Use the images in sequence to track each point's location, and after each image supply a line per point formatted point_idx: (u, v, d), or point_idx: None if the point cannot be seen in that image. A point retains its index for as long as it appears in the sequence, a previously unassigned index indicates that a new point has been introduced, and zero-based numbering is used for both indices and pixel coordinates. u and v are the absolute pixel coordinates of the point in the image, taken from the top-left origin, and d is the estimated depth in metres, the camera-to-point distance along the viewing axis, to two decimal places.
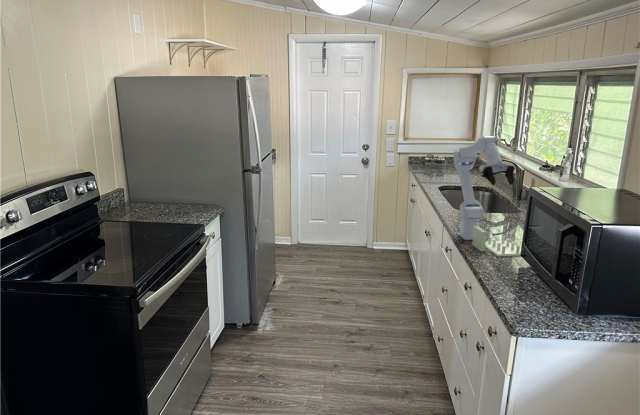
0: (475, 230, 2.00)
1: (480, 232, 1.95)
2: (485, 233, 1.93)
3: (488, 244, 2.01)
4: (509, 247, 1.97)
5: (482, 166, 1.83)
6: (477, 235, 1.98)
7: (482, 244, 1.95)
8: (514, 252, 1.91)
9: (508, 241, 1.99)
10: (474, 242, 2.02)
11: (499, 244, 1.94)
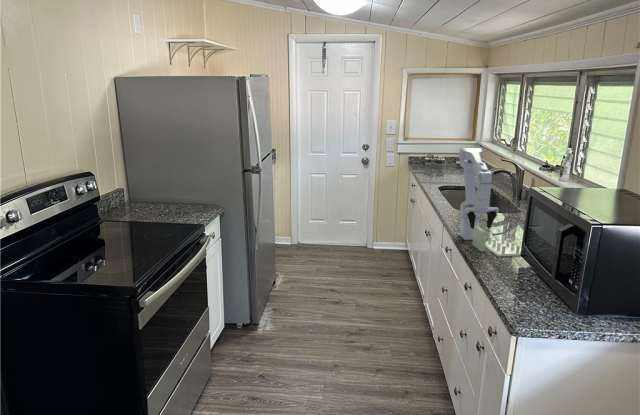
0: (475, 230, 2.00)
1: (480, 232, 1.95)
2: (485, 233, 1.93)
3: (488, 244, 2.01)
4: (509, 247, 1.97)
5: (468, 210, 1.94)
6: (477, 235, 1.98)
7: (482, 244, 1.95)
8: (514, 252, 1.91)
9: (508, 241, 1.99)
10: (474, 242, 2.02)
11: (499, 244, 1.94)
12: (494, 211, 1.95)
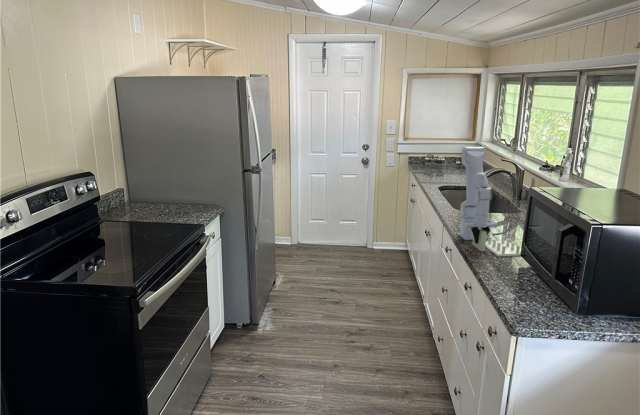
0: None
1: (480, 232, 1.95)
2: (485, 233, 1.93)
3: (488, 244, 2.01)
4: (509, 247, 1.97)
5: (467, 226, 1.96)
6: None
7: (482, 244, 1.95)
8: (514, 252, 1.91)
9: (508, 241, 1.99)
10: (474, 242, 2.02)
11: (499, 244, 1.94)
12: (493, 226, 1.97)
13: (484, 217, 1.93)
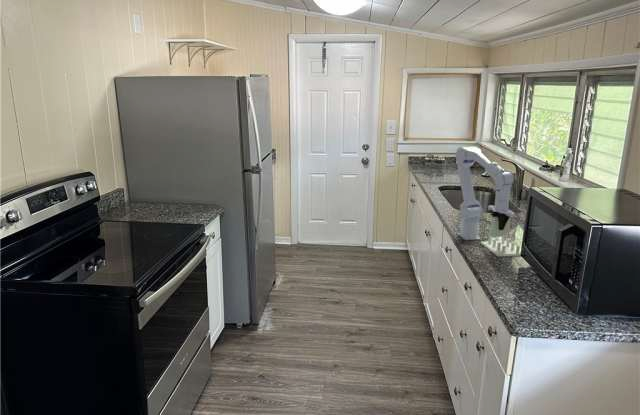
0: None
1: None
2: (493, 219, 1.93)
3: (488, 244, 2.01)
4: (509, 247, 1.97)
5: (488, 207, 1.99)
6: None
7: (490, 229, 1.95)
8: (514, 252, 1.91)
9: (508, 241, 1.99)
10: None
11: (499, 244, 1.94)
12: (508, 215, 1.89)
13: (496, 201, 1.92)
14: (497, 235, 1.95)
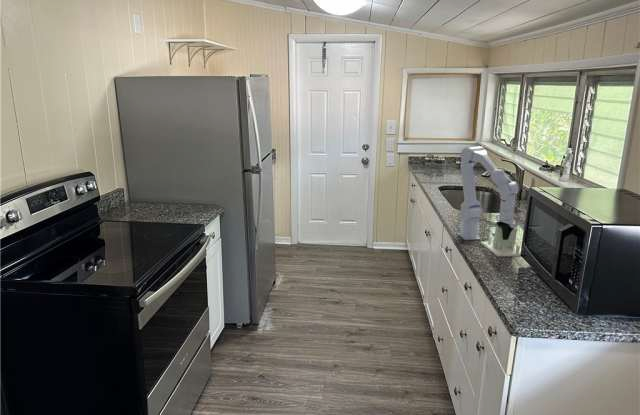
0: None
1: None
2: (497, 229, 1.94)
3: (488, 244, 2.01)
4: None
5: (496, 216, 2.01)
6: None
7: (494, 239, 1.97)
8: (514, 252, 1.91)
9: None
10: None
11: (499, 244, 1.94)
12: (510, 225, 1.89)
13: (500, 211, 1.93)
14: None
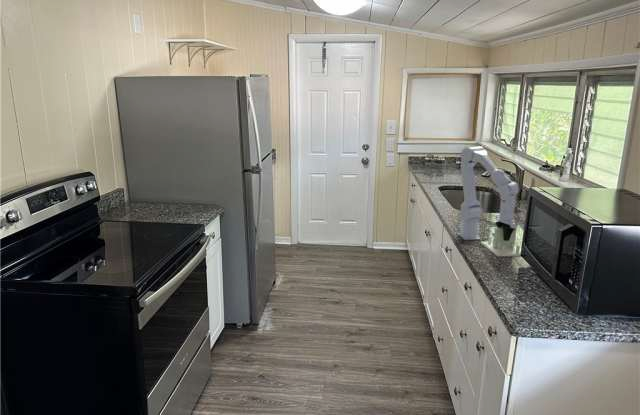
0: None
1: None
2: (496, 230, 1.95)
3: (488, 244, 2.01)
4: None
5: (496, 216, 2.01)
6: None
7: (493, 240, 1.97)
8: (514, 252, 1.91)
9: None
10: None
11: (499, 244, 1.94)
12: (510, 226, 1.89)
13: (500, 211, 1.93)
14: (500, 246, 1.96)
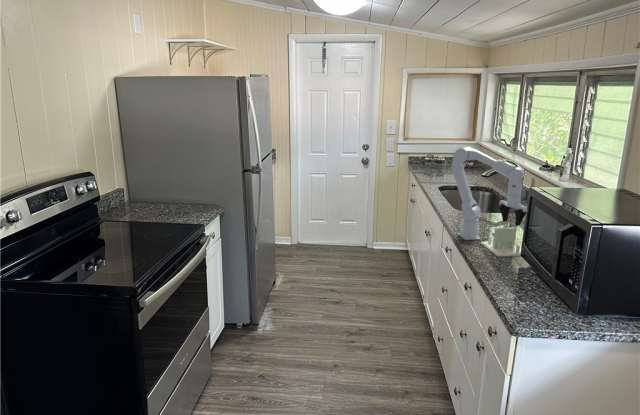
0: None
1: None
2: (496, 230, 1.95)
3: (488, 244, 2.01)
4: None
5: (500, 202, 2.05)
6: None
7: (493, 240, 1.97)
8: (514, 252, 1.91)
9: None
10: None
11: (499, 244, 1.94)
12: (521, 210, 1.94)
13: (509, 196, 1.97)
14: (500, 246, 1.96)
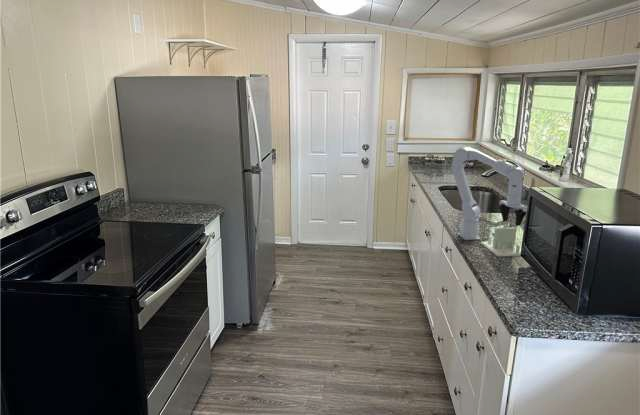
0: None
1: None
2: (496, 230, 1.95)
3: (488, 244, 2.01)
4: None
5: (500, 202, 2.05)
6: None
7: (493, 240, 1.97)
8: (514, 252, 1.91)
9: None
10: None
11: (499, 244, 1.94)
12: (522, 209, 1.94)
13: (509, 196, 1.97)
14: (500, 246, 1.96)
